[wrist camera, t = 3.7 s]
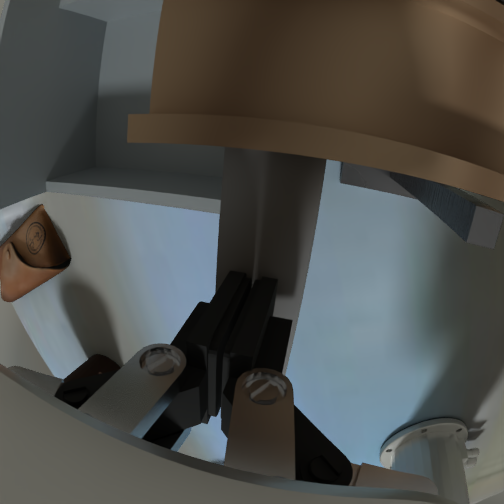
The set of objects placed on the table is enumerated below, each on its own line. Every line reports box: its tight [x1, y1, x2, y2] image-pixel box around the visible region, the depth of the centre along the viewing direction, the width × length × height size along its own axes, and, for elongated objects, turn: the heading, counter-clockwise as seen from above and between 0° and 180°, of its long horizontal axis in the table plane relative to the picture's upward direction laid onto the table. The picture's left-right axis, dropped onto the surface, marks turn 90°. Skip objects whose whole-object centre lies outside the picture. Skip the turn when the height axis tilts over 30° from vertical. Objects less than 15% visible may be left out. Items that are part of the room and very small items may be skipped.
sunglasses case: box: [0, 204, 71, 302], centre depth 32 cm, size 18×7×7 cm
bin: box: [0, 0, 225, 214], centre depth 16 cm, size 18×16×12 cm
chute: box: [127, 0, 504, 376], centre depth 8 cm, size 22×17×3 cm
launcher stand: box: [340, 0, 504, 249], centre depth 12 cm, size 8×12×14 cm, turn 174°
